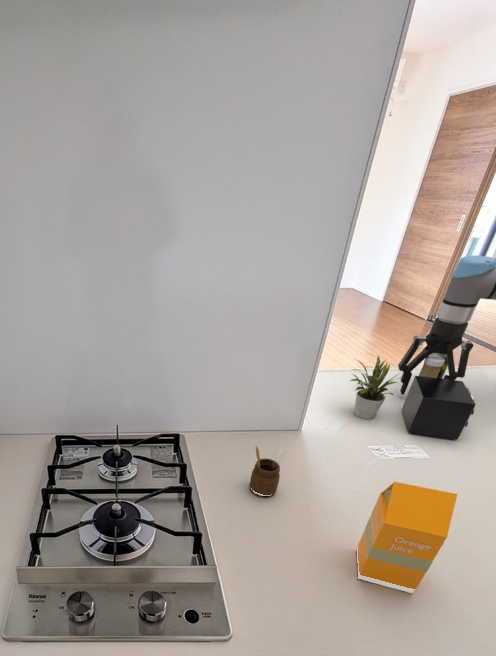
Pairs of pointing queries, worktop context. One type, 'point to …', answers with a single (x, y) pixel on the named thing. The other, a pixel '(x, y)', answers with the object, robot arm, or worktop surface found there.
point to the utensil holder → (265, 475)
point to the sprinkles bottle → (432, 366)
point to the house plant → (371, 391)
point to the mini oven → (438, 407)
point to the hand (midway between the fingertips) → (420, 394)
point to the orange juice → (405, 533)
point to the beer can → (444, 367)
